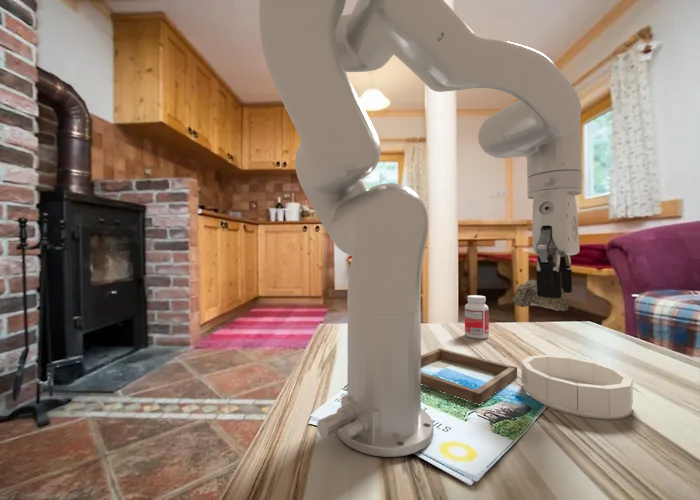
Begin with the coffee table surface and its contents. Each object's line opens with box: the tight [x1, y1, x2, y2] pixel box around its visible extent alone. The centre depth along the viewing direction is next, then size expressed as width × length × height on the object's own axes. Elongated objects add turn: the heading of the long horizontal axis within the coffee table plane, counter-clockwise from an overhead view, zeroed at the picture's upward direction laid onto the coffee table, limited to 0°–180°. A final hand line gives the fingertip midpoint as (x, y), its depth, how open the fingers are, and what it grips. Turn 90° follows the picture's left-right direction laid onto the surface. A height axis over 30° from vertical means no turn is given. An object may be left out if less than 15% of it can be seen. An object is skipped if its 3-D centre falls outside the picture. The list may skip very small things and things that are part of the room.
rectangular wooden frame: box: [421, 348, 518, 405], centre depth 59 cm, size 16×16×2 cm
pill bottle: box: [464, 294, 490, 340], centre depth 87 cm, size 6×6×11 cm
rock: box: [511, 279, 569, 312], centre depth 53 cm, size 7×8×4 cm
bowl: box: [521, 354, 634, 421], centre depth 50 cm, size 14×14×4 cm
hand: (555, 293), depth 52 cm, fingers closed on rock, 7 cm apart
